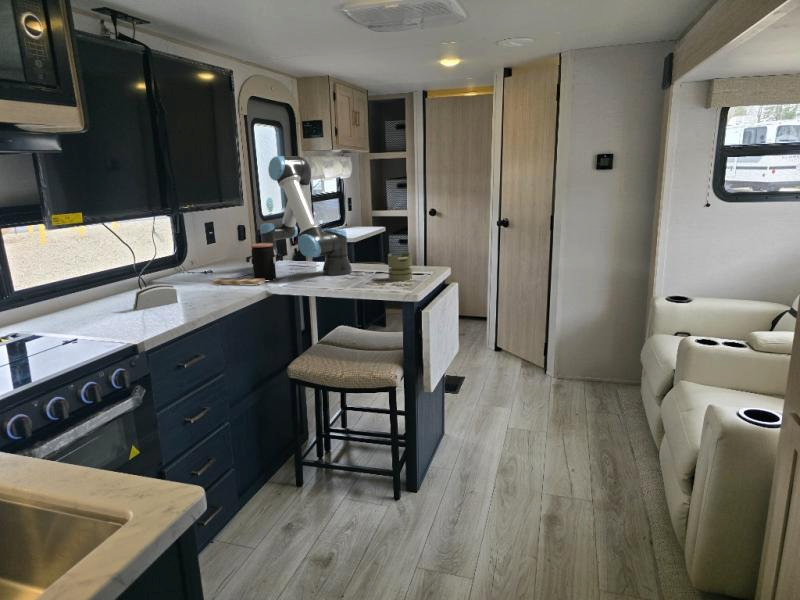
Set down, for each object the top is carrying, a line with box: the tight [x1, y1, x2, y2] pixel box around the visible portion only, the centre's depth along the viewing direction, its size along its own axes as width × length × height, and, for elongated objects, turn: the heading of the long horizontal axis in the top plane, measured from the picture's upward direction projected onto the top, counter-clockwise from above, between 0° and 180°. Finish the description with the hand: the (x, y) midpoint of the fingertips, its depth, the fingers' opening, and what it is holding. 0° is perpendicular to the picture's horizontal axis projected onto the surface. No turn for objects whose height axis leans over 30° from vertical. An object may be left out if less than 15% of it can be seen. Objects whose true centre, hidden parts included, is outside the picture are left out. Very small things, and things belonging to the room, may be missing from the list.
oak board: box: [212, 277, 266, 286], centre depth 257 cm, size 24×7×2 cm, turn 77°
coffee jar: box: [250, 242, 277, 281], centre depth 263 cm, size 11×11×18 cm
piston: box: [387, 252, 413, 282], centre depth 254 cm, size 11×12×11 cm
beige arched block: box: [132, 284, 179, 312], centre depth 216 cm, size 17×5×10 cm, turn 137°
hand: (262, 261), depth 258 cm, fingers closed on coffee jar, 11 cm apart
